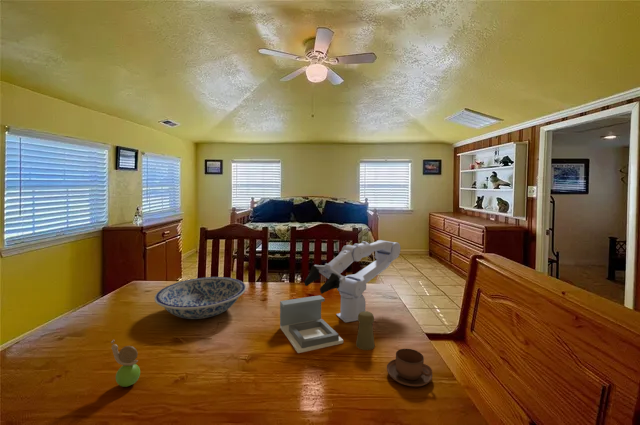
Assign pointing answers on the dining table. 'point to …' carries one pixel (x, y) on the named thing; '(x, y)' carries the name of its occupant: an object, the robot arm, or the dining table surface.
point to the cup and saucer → (409, 368)
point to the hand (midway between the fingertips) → (312, 287)
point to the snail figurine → (126, 365)
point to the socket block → (306, 324)
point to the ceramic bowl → (200, 296)
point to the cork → (365, 331)
